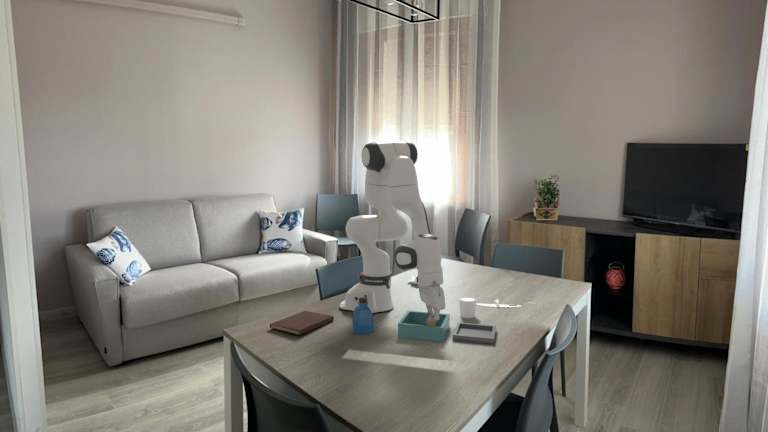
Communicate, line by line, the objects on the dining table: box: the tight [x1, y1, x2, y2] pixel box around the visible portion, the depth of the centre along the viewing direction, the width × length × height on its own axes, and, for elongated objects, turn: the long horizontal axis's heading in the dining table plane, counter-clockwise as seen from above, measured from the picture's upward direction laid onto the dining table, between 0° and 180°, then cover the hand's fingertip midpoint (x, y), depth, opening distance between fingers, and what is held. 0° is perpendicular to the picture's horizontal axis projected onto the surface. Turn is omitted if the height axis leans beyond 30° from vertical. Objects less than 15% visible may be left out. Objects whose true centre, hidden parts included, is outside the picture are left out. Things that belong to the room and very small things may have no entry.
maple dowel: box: [426, 317, 436, 326], centre depth 182 cm, size 3×3×9 cm
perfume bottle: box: [352, 298, 374, 335], centre depth 187 cm, size 6×6×12 cm
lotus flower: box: [408, 271, 418, 286], centre depth 249 cm, size 14×15×9 cm
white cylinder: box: [458, 296, 478, 319], centre depth 205 cm, size 7×7×7 cm
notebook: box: [269, 310, 335, 336], centre depth 196 cm, size 15×20×2 cm
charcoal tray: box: [452, 322, 497, 345], centre depth 183 cm, size 14×14×2 cm
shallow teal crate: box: [397, 310, 451, 343], centre depth 186 cm, size 16×16×5 cm
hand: (433, 317), depth 183 cm, fingers open, 6 cm apart
